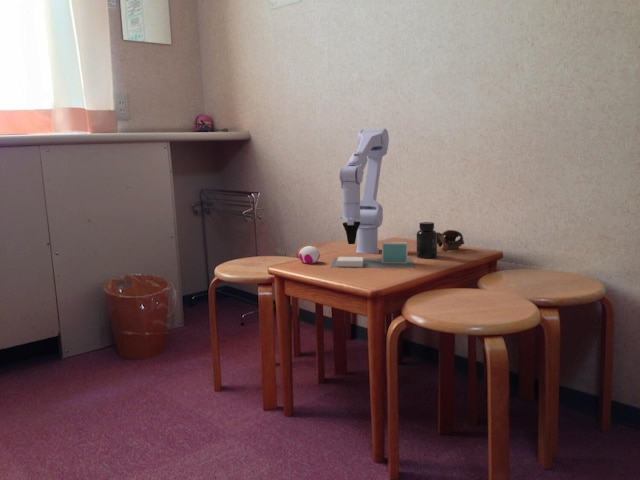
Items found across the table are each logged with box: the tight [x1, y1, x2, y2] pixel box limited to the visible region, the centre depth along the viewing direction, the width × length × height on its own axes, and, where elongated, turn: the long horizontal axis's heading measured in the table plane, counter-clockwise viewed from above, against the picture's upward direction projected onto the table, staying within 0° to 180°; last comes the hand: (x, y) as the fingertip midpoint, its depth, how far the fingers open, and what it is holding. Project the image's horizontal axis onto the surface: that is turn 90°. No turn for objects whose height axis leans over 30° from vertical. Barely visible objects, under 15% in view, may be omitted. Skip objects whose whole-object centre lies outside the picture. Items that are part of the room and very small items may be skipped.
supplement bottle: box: [416, 221, 438, 260], centre depth 189 cm, size 7×7×12 cm
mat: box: [330, 257, 416, 269], centre depth 182 cm, size 15×26×1 cm, turn 84°
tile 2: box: [381, 241, 408, 263], centre depth 181 cm, size 2×8×6 cm, turn 84°
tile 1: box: [337, 256, 364, 268], centre depth 179 cm, size 2×8×6 cm
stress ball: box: [298, 245, 321, 265], centre depth 183 cm, size 8×8×7 cm
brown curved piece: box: [436, 229, 465, 253], centre depth 204 cm, size 12×10×8 cm
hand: (351, 243), depth 187 cm, fingers closed
